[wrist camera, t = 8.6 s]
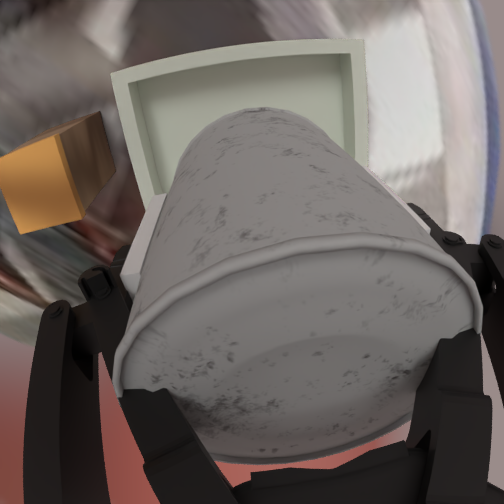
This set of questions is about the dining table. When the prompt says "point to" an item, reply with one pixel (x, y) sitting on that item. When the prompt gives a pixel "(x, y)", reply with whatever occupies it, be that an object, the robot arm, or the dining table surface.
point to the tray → (239, 98)
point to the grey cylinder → (287, 296)
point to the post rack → (56, 174)
